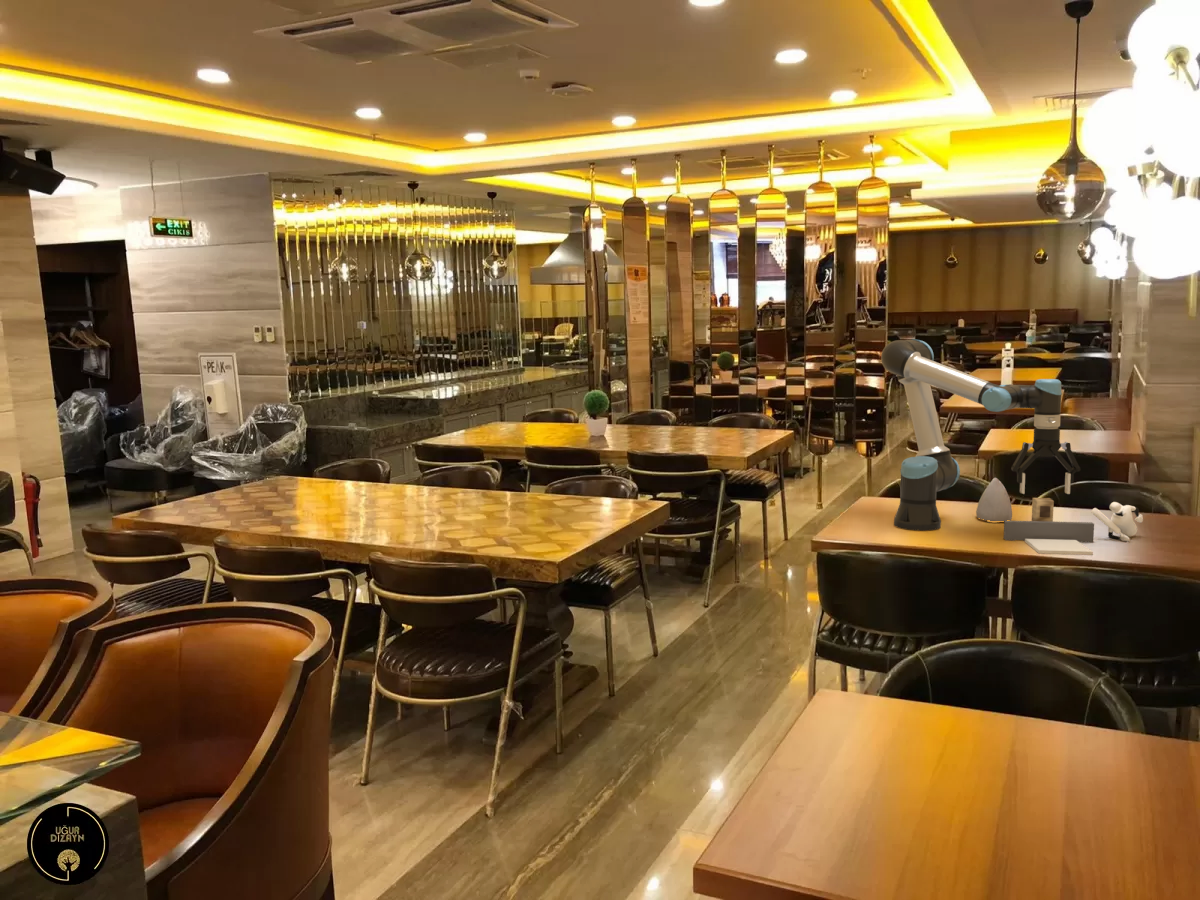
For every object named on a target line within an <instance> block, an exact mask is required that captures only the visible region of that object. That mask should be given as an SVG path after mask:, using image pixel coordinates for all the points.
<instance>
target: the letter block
mask: <svg viewBox="0 0 1200 900" xmlns="http://www.w3.org/2000/svg"><path fill="white" fill-rule="evenodd" d="M1054 503H1055V501H1054V500H1053V499H1052V498H1050V497H1032V504H1031V521H1051V522H1054Z"/></svg>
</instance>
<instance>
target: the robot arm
mask: <svg viewBox="0 0 1200 900" xmlns="http://www.w3.org/2000/svg"><path fill="white" fill-rule="evenodd" d="M934 357H935V355H934V352H933V349H932V347H931V346H930V345H929V344H928V343H927V342H926V341H923V340H920V339H916V338H915V339H913V338H912V339H900V340H899V339H898V340H893V341H891V342H889V343H887V344H886V345H885V346H884V348H883V350H882V351H881V355H880V360H881V361H880V362H881V364H882V366H883V368H884V369H885V370H886V371H887V372H889V373H890V374H893V375H897V380H898V381H897V382H899V383H901V384H902V385H903V387H904V390H905V395H906V400H907V404H908V408H909V413H910V418H911V422H912V426H913V430H914V437H915V439H916V444H917V449H918V452H916V455H915V456H911V457H907V458H905V459H903V461H902V462H901V465H900V466H901V468H900V470H899V471H900V489H899V490H900V493H899V494H900V495H899V496H900V497H899V505H898V507H897V510H896V514H895V516H894V520H893V525H894V527H896V528H899V529H902V530H903V529H904V530H908V531H923V532H924V531H927V532H928V531H936V530H939V529H941V525H942V520H941V517H940V514H939V511H938V508H937V492H941V491H945V490H948V489H950V488H951V487H953V486H954V485H956V484H957V482H958V480H959V479H960V474H961V468H960V465H959V463H958V461H957V460H956V459H955V458H953V457H952V454H951V453H952V452H951V450H950V448H948V447H947V446H945V443H944V439H943V434H942V430H941V426H940V421H939V418H938V417H939V416H938V412H937V409H936V404H935V400H934V395H933V392H932V388H931V386H933V387H936V388H939V389H941V390H943V391H946V392H948V393H951V394H953V395H956V396H959V397H961V398H964V399H966V400H969V401H972V402H974V403H977V404H979V405H982V406H983V407H984V408H985V409H986V410H987V411H989V412H996V413H1000V412H1004V411H1007V410H1013V409H1034V416H1033V417H1034V419H1033V426H1034V427H1035V428H1033V441H1032V443H1030V442H1024V441H1023V442H1022V446H1021V449H1020V451H1019V454H1018V455H1017V457H1016V458H1015V460H1014V462H1013V464H1012V465H1011V468H1010V470H1011V471H1012V472H1015V473H1016V482H1017V483H1018V484H1019V493H1020V494H1023V495H1025V489H1026V487H1025V485H1026V473H1025V470H1027V468H1028V467H1029V466H1030V465H1031V464H1033V462H1034V461H1035V460H1036V459H1037V458H1038V457H1041V458H1042V457H1043V458H1044V457H1045V458H1046V457H1049V458H1051V457H1054V458H1056V459H1057V460H1058V462H1059V463H1060V464H1061V465H1062V466H1063V468H1064V469H1066V471H1067V472H1065V476H1064V493H1065V494H1067V495H1070V494H1071V484H1073V483H1074V481H1075V473H1077V472H1081V470H1082V469H1081V467H1080V465H1079V463H1078V461H1077V459H1076V457H1075V455H1074V453H1073V451H1072V447H1071V443H1070V442H1067V441H1064V442H1062V443H1061V439H1060V438H1061V429H1060V428H1059V427H1061V410H1062V409H1061V408H1062V406H1061V405H1062V395H1063V393H1062V382H1061V381H1060V380H1059V379H1056V378H1055V379H1054V378H1039V379H1036V380H1035V383H1034V384H1033V385H1032V384H1031V385H1027V384H1026V385H1025V384H1012V383H1011V384H1000V385H998V384H995V383H994V382H993V383H992V382H990V381H988V380H985V379H982V378H980V377H977V376H974V375H972V374H969V373H966V372H964V371H961V370H958V369H956V368H953V367H950V366H947V365H945V364H942V363H939V362H937V361H934V360H935V359H934ZM1031 448H1032V449H1033V451H1032V452H1031V454H1030V455H1029V456H1028V457H1027V459H1025V461H1024V462H1023V460H1024V458H1025V456H1026V455H1027V453H1028V451H1029V450H1030V449H1031ZM1061 448H1062V449H1063V450H1064V452H1065V453H1066V454H1065V455H1066V456H1067V457H1068V461H1069V462H1070V463H1071V465H1070V464H1069V463H1068V462H1067V460H1066V459H1065V458H1064V457H1063V456H1062V454H1060V452H1059V450H1060V449H1061ZM1071 466H1072V467H1071Z"/></svg>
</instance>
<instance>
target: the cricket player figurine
mask: <svg viewBox="0 0 1200 900" xmlns="http://www.w3.org/2000/svg"><path fill="white" fill-rule="evenodd" d="M1109 510H1111V512H1112V515H1111V517H1110V518H1109V517H1107V516H1106V515H1105V514H1104V513H1103V512H1102V511H1101V510H1099V509H1098V508H1097V507H1094V508H1092V510H1090V511H1091V513H1092V515H1093V516H1095V518H1097V519H1098V520H1100V521H1101V523H1103V524H1104V525H1105V526H1106V527H1107V528H1108V529H1107V532H1108V533H1107V534H1108V535H1107V536H1108V538H1110V539H1115V540H1120V541H1123V542H1131V539H1130V538H1131V537H1133V536H1135V535H1136V534H1137V532H1138V526H1137V524H1136V522H1138V523H1140V524H1141V523H1143V521H1144V518H1143V514H1141V513H1139V512H1140V510H1139V508H1138V507H1137V506H1134V505H1129V504H1125V505H1122V504H1121V503H1119V502H1117V501H1113V502H1111V503H1110V504H1109ZM1132 512H1134V514H1135V516H1136V517H1135V518H1133V513H1132ZM1135 521H1136V522H1135ZM1114 533H1115V535H1114ZM1116 534H1117V535H1116ZM1118 534H1119V536H1118Z"/></svg>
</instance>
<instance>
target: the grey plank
mask: <svg viewBox="0 0 1200 900" xmlns="http://www.w3.org/2000/svg"><path fill="white" fill-rule="evenodd" d="M1094 531H1095V523H1094V522H1091V521H1090V522H1087V521H1053V522H1051V521H1032V520H1010V521H1004V524H1003V540H1004V539H1005V540H1004V541H1015V540H1023V541H1024V542H1025V539H1056V540H1077V541H1078V542H1080V543H1094V536H1095V535H1094V533H1095V532H1094ZM1023 541H1022V542H1023Z"/></svg>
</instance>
